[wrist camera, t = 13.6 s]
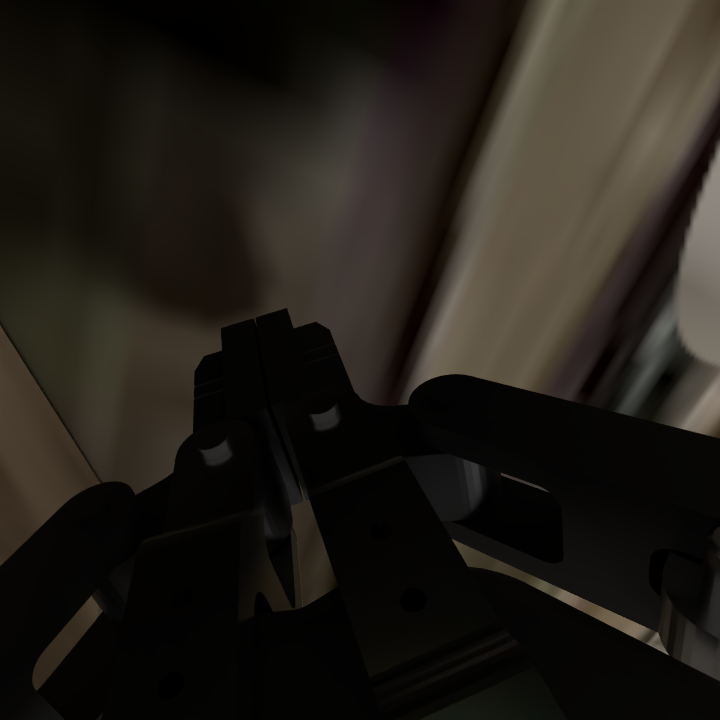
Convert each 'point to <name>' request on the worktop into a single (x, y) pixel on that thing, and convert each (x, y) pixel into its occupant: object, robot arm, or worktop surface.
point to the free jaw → (36, 481)
